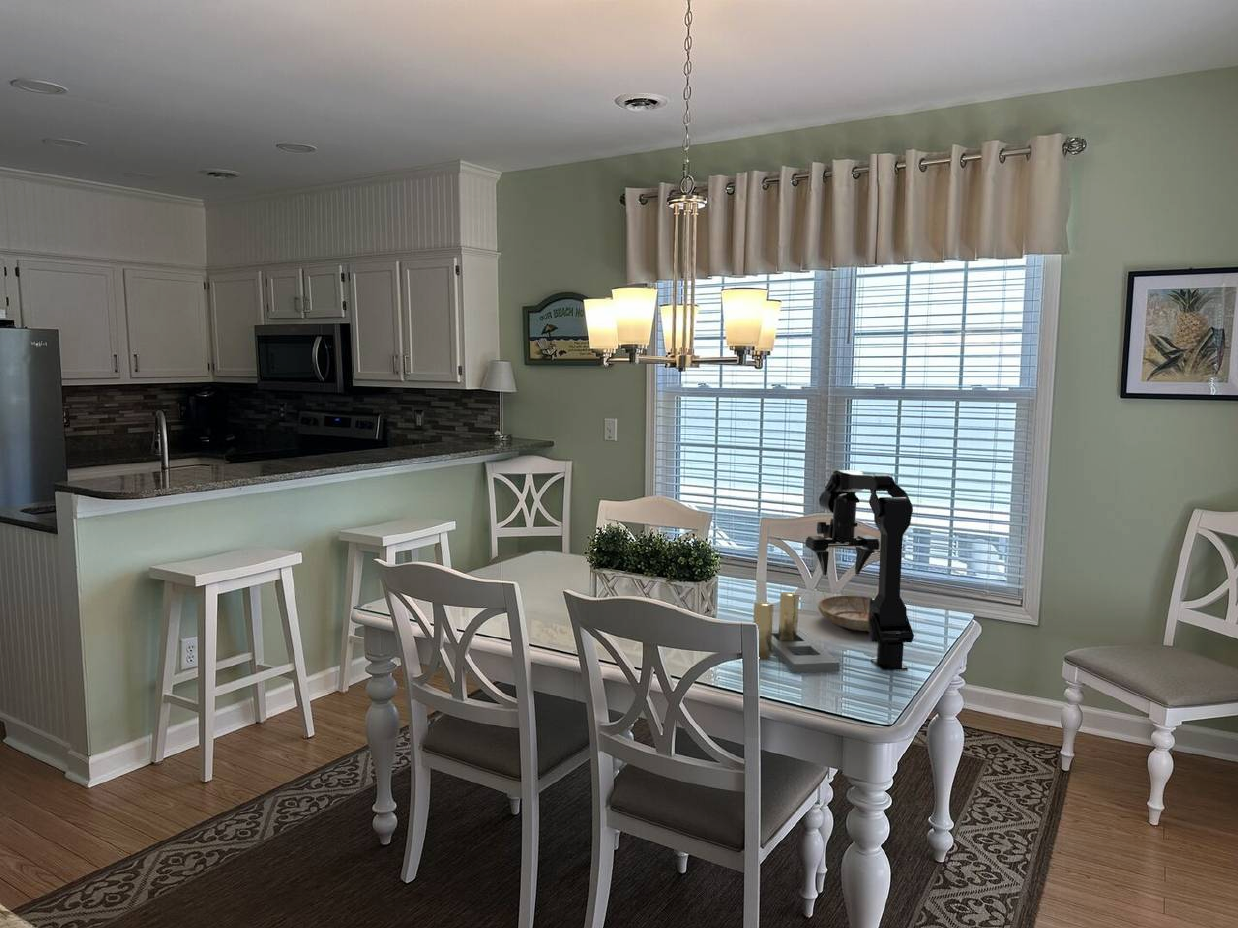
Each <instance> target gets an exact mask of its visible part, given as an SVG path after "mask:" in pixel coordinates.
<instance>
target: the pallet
mask: <svg viewBox="0 0 1238 928" xmlns="http://www.w3.org/2000/svg"><path fill="white" fill-rule="evenodd" d="M778 633H779V629H777V630H775V629H772V641H771V653H774V655H775V656H776V657H777V658H778V659H779V660H780V661H782V663H784V665H786V666H787V667H788V668H789V669H790V670H791V672H793V673H797V674H798V673H799V674H801V673H819V672H821V673H822V672H839V671H840V667H841V666H840V665H841V662H840V661H838V659H836V658H835V657H834V656H833V655H831V654H830V653H829V652H828V651H827V650H825V649H824V648H823V647H822V646H820V645H819V644H818V643H816V642H815V640H813V639H812V638H810V637H809V636H808V635H807V634H806V633H804V632H803V631H802V630H801V629H797V640H796V641H794V642H779V641H778Z"/></svg>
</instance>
